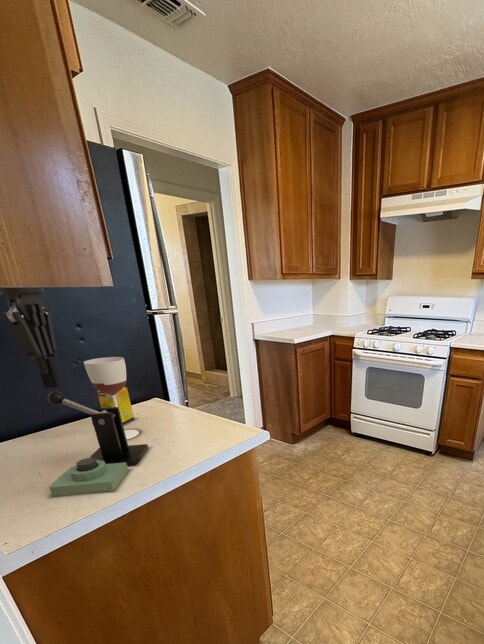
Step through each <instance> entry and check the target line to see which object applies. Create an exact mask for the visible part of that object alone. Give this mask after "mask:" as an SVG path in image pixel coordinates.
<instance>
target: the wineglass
mask: <svg viewBox="0 0 484 644" xmlns="http://www.w3.org/2000/svg"><path fill="white" fill-rule="evenodd" d="M83 365H84V368H85V371H86V374H87V376H88V378H89V381H90V383H91V384H92V386H93V387H94V389H95V390H97V391H100V392H103V393H106V394H110V395H112V399H113V403H114V407H118V405H117V401H116V397H115V394H116V393H117V392H119V391H120V390H122V389H123V388H124V387H125V386H126V385H127V366H126V361H125V358H124V357H123V356H108V357H107V356H105V357H98V358H92V359H87V360H84V361H83ZM124 431H125V435H126V439H127V440H129V439H130V440H131V439H133V438H135V437H137V436H138V435H140V431H139V430H136V429H124Z"/></svg>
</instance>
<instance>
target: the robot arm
mask: <svg viewBox="0 0 484 644" xmlns="http://www.w3.org/2000/svg"><path fill="white" fill-rule="evenodd" d="M43 294H45V289H44V287H43V288H0V296H6V299H7V306H8V308H9V309H8V311H3V312H1V313H2V314H1V315H2V317H3V318H4V320H5V321H6V323H8V325H9V327H10V329H11V330H12V332H13V334H14V336H15V339H16V340H17V342H18V344H19V346H20V347H21V351H22V352H23V353H24V356H25V357H26V358H27V359H28V360H33V361H35V363H36V366H37V370H38V372H39V375H40V378H41V381H42V384H43V386H44V389H54V388H60V387H62V384H61V380H60V377H59V374H58V371H57V367H56V365H55V362H54V358H57V356H58V353H57V344H56V343H57V342H56V337H55V333H54V327H53V322H52V309H51V308H50V307H49V308H48V307H47V308H45V307H44V306H43V302H42V300H41V299H40V296H39V295H43Z"/></svg>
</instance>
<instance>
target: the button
mask: <svg viewBox="0 0 484 644" xmlns="http://www.w3.org/2000/svg"><path fill="white" fill-rule="evenodd" d="M76 465H77V468H78V471H79V472H83V471H89V470H93V469H95V468H97V467H98V465H97V462H96V459H95V458H90V457H86V458H82V459H80V460H78V461H77V462H76ZM76 465H75V466H76Z"/></svg>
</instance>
